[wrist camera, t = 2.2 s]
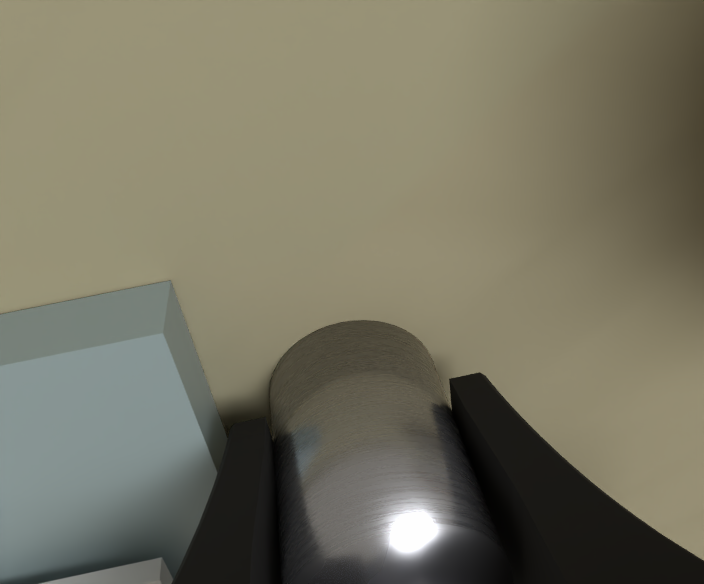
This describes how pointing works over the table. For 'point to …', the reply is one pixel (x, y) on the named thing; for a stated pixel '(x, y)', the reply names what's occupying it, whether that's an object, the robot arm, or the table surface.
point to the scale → (103, 440)
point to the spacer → (374, 466)
